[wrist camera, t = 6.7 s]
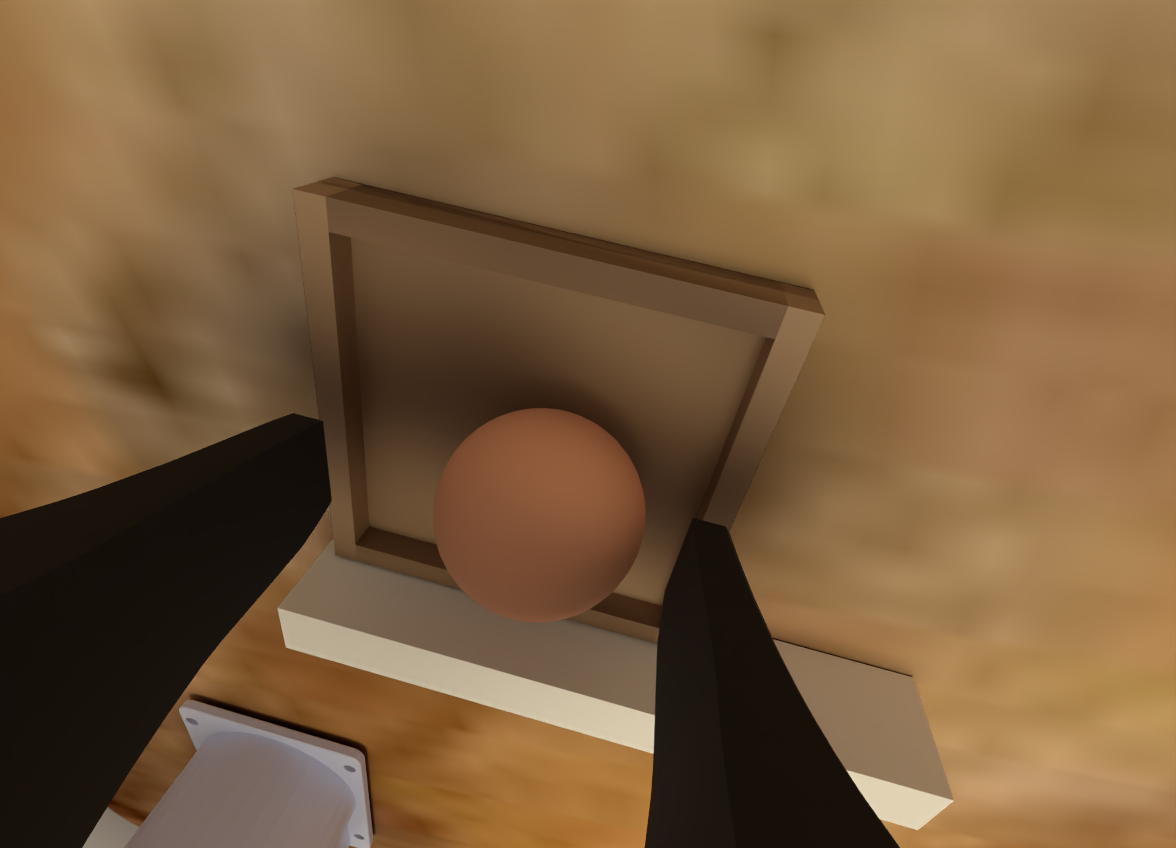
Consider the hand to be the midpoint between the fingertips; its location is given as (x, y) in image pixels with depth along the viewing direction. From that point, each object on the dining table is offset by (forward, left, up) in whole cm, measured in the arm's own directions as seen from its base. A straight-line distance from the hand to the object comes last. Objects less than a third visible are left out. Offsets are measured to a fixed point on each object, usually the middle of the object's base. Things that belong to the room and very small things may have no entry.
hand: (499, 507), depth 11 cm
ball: (0, -1, 0) cm, 1 cm away
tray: (0, 0, -3) cm, 3 cm away
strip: (-5, -3, -3) cm, 7 cm away
